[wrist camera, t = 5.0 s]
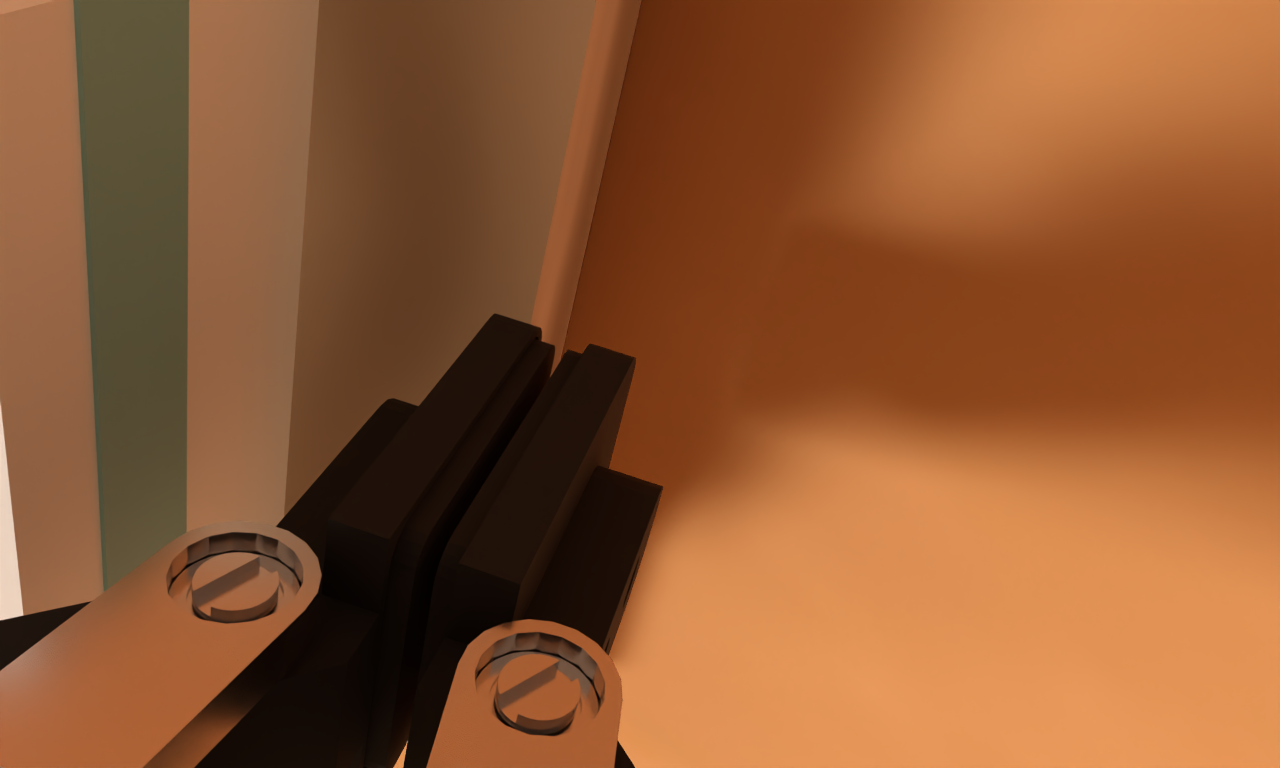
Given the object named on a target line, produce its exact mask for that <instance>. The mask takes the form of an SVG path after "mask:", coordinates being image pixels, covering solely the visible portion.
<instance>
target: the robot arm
mask: <svg viewBox="0 0 1280 768" xmlns="http://www.w3.org/2000/svg"><path fill="white" fill-rule="evenodd" d="M541 340H542V329H541V328H540V327H537V326H534V325H531V324H528V323H525V322H522V321H518V320H515V319H512V318H509V317H506V316H503V315H500V314H493V315H492V316H491V317H490V318H489V319H488V321H487V322H486V323H485V324H484V326H483V327H482V328H481V329H480V331H479V332H478V333H477V334H476V336H475V337H474V338H473V339H472V341H471V342H470V343H469V344H468V346H467V347H466V348H465V349H464V351H463V352H462V353H461V354H460V355H459V357H458V358H457V359H456V360H455V362H454V363H453V364H452V365H451V367H450V368H449V369H448V370H447V372H446V373H445V374H444V375H443V377H442V378H441V379H440V380H439V382H438V383H437V384H436V385H435V387H434V388H433V389H432V390H431V392H430V393H429V394H428V395H427V396H426V398H425V399H424V400H423V401H422V403H421V404H420V405H419V406H416V405H413V404H410V403H407V402H404V401H401V400H398V399H395V398H391V399H387V400H386V401H385V402H384V403H383V404H382V405H381V406H380V407H379V408H378V409H377V410H376V411H375V412H374V414H373V415H372V416H371V417H370V418H369V419H368V421H367V422H366V423H365V424H364V425H363V426H362V427H361V429H360V430H359V431H358V432H357V433H356V434H355V436H354V437H353V438H352V439H351V440H350V441H349V442H348V444H347V445H346V446H345V447H344V448H343V449H342V451H341V452H340V453H339V454H338V455H337V456H336V457H335V459H334V460H333V461H332V462H331V463H330V464H329V466H328V467H327V468H326V469H325V470H324V471H323V472H322V474H321V475H320V476H319V477H318V478H317V479H316V481H315V482H314V483H313V484H312V485H311V486H310V487H309V489H308V490H307V491H306V492H305V493H304V494H303V496H302V497H301V498H300V499H299V500H298V501H297V502H296V504H295V505H294V506H293V507H292V508H291V509H290V511H289V512H288V513H287V514H286V515H285V516H284V517H283V519H282V520H281V521H280V522H279V523H278V524H277V526H276V527H275V526H272V525H269V524H266V523H257V522H248V521H232V522H221V523H214V524H210V525H207V526H204V527H200V528H197V529H194V530H190V531H189V532H187V533H185V534H183V535H182V536H180V537H178V538H176V539H175V540H173V541H171V542H169V543H168V544H167V545H165V546H164V547H163V548H161V549H160V550H159V551H157V552H156V553H155V554H154V555H152V556H151V557H150V558H148V559H147V560H146V561H144V562H143V563H142V564H140V565H139V566H138V567H136V568H135V569H134V570H132V571H131V572H130V573H128V574H127V575H126V576H125V577H123V578H122V579H121V580H119V581H118V582H117V583H115V584H114V585H113V586H111V587H110V588H109V589H107V590H106V591H105V592H103V593H102V594H101V595H100V596H98V597H97V598H96V599H94V600H93V601H90V602H85V603H80V604H76V605H71V606H66V607H61V608H57V609H52V610H47V611H42V612H38V613H33V614H28V615H23V616H19V617H14V618H9V619H5V620H0V768H393V767H394V765H395V763H396V762H397V760H398V758H399V756H400V754H401V752H402V751H403V749H404V747H405V745H406V743H407V741H408V743H407V749H406V755H405V761H404V767H403V768H635V767H634V765H633V763H632V762H631V760H630V759H629V757H628V756H627V754H626V753H625V751H624V749H623V748H622V746H621V745H620V743H619V742H618V732H619V724H620V716H621V708H622V700H623V699H622V685H621V678H620V676H619V674H618V672H617V669H616V667H615V665H614V663H613V661H612V659H611V658H610V657H609V656H608V655H609V652H610V649H611V647H612V644H613V641H614V638H615V635H616V633H617V630H618V627H619V624H620V622H621V619H622V616H623V613H624V611H625V608H626V605H627V602H628V599H629V596H630V593H631V590H632V587H633V584H634V581H635V578H636V575H637V572H638V569H639V566H640V563H641V560H642V557H643V554H644V551H645V547H646V544H647V541H648V538H649V534H650V531H651V528H652V524H653V521H654V518H655V514H656V511H657V508H658V504H659V501H660V497H661V493H662V490H663V487H662V486H659V485H656V484H653V483H650V482H647V481H644V480H641V479H638V478H635V477H632V476H629V475H626V474H623V473H620V472H617V471H614V470H611V469H608V468H609V464H610V460H611V457H612V453H613V449H614V445H615V441H616V438H617V434H618V430H619V426H620V422H621V418H622V415H623V411H624V407H625V403H626V399H627V396H628V392H629V388H630V384H631V380H632V376H633V372H634V368H635V363H636V358H634V357H631V356H628V355H625V354H622V353H618V352H615V351H612V350H609V349H606V348H603V347H600V346H597V345H593V344H589V345H588V346H587V348H586V349H585V351H584V353H583V354H580V353H577V352H574V351H571V350H567V352H566V353H565V354H564V356H563V358H562V359H561V361H560V362H559V364H558V366H557V367H556V369H555V370H554V372H553V374H552V375H551V371H552V366H553V361H554V356H555V345H552V344H549V343H546V342H543V341H541ZM550 375H551V377H550Z"/></svg>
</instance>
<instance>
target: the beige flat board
mask: <svg viewBox="0 0 1280 768" xmlns="http://www.w3.org/2000/svg"><path fill="white" fill-rule="evenodd" d="M641 1H642V0H319V10H318V25H317V40H316V54H315V69H314V84H313V98H312V113H311V127H310V142H309V157H308V171H307V186H306V200H305V215H304V230H303V244H302V259H301V273H300V288H299V303H298V317H297V332H296V347H295V361H294V376H293V390H292V405H291V420H290V434H289V449H288V463H287V478H286V493H285V507H284V516H285V515H286V514H287V513H288V512H289V511H290V509H291V508H292V507H293V506H294V505H295V504H296V502H297V501H298V500H299V499H300V498H301V497H302V496H303V494H304V493H305V492H306V491H307V490H308V489H309V487H310V486H311V485H312V484H313V483H314V482H315V481H316V479H317V478H318V477H319V476H320V475H321V474H322V472H323V471H324V470H325V469H326V468H327V467H328V466H329V464H330V463H331V462H332V461H333V460H334V459H335V457H336V456H337V455H338V454H339V453H340V452H341V451H342V449H343V448H344V447H345V446H346V445H347V444H348V442H349V441H350V440H351V439H352V438H353V437H354V436H355V434H356V433H357V432H358V431H359V430H360V429H361V427H362V426H363V425H364V424H365V423H366V422H367V421H368V419H369V418H370V417H371V416H372V415H373V414H374V412H375V411H376V410H377V409H378V408H379V407H380V406H381V405H382V404H383V403H384V402H385V401H386V400H387V399H391V398H395V399H398V400H401V401H404V402H407V403H410V404H413V405H416V406H419V405H420V404H421V403H422V401H423V400H424V399H425V398H426V396H427V395H428V394H429V393H430V392H431V390H432V389H433V388H434V387H435V385H436V384H437V383H438V382H439V380H440V379H441V378H442V377H443V375H444V374H445V373H446V372H447V370H448V369H449V368H450V367H451V365H452V364H453V363H454V362H455V360H456V359H457V358H458V357H459V355H460V354H461V353H462V352H463V351H464V349H465V348H466V347H467V346H468V344H469V343H470V342H471V341H472V339H473V338H474V337H475V336H476V334H477V333H478V332H479V331H480V329H481V328H482V327H483V326H484V324H485V323H486V322H487V321H488V319H489V318H490V317H491V316H492V315H493V314H500V315H503V316H506V317H509V318H512V319H515V320H518V321H522V322H525V323H528V324H531V325H534V326H537V327H540V328H541V329H542V340H541V341H543V342H546V343H549V344H552V345H555V356H554V361H553V366H552V371H551V375H552V374H553V372H554V370H555V369H556V367H557V366H558V364H559V362H560V361H561V356H562V352H563V347H564V343H565V338H566V334H567V330H568V325H569V321H570V316H571V312H572V307H573V303H574V299H575V294H576V290H577V285H578V281H579V276H580V272H581V267H582V263H583V259H584V254H585V250H586V245H587V241H588V236H589V232H590V228H591V223H592V219H593V214H594V210H595V205H596V201H597V197H598V192H599V188H600V183H601V179H602V174H603V170H604V165H605V161H606V157H607V152H608V148H609V143H610V139H611V134H612V130H613V126H614V121H615V117H616V112H617V108H618V103H619V99H620V95H621V90H622V86H623V81H624V77H625V72H626V68H627V64H628V59H629V55H630V50H631V46H632V41H633V37H634V32H635V28H636V24H637V19H638V15H639V10H640V6H641ZM551 375H550V377H551ZM407 743H408V741H407Z"/></svg>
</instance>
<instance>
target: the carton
mask: <svg viewBox="0 0 1280 768" xmlns="http://www.w3.org/2000/svg"><path fill="white" fill-rule="evenodd" d="M318 10H319V0H0V620H5V619H9V618H14V617H19V616H23V615H28V614H33V613H38V612H42V611H47V610H52V609H57V608H61V607H66V606H71V605H76V604H80V603H85V602H90V601H93V600H94V599H96V598H97V597H98V596H100V595H101V594H102V593H103V592H105V591H106V590H107V589H109V588H110V587H111V586H113V585H114V584H115V583H117V582H118V581H119V580H121V579H122V578H123V577H125V576H126V575H127V574H128V573H130V572H131V571H132V570H134V569H135V568H136V567H138V566H139V565H140V564H142V563H143V562H144V561H146V560H147V559H148V558H150V557H151V556H152V555H154V554H155V553H156V552H157V551H159V550H160V549H161V548H163V547H164V546H165V545H167V544H168V543H169V542H171V541H173V540H175V539H176V538H178V537H180V536H182V535H183V534H185V533H187V532H189V531H190V530H194V529H197V528H200V527H204V526H207V525H210V524H214V523H221V522H232V521H248V522H257V523H266V524H269V525H272V526H275V527H276V526H277V524H278V523H279V522H280V521H281V520H282V519H283V517H284V507H285V493H286V478H287V463H288V449H289V434H290V420H291V405H292V390H293V376H294V361H295V347H296V332H297V317H298V303H299V288H300V273H301V259H302V244H303V230H304V215H305V200H306V186H307V171H308V157H309V142H310V127H311V113H312V98H313V84H314V69H315V54H316V40H317V25H318Z"/></svg>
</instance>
